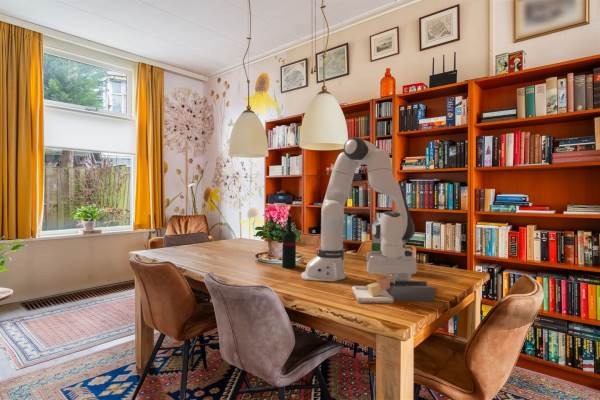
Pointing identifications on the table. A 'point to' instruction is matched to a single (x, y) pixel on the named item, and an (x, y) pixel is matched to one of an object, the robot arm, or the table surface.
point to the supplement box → (403, 277)
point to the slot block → (411, 291)
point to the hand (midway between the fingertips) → (391, 284)
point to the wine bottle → (289, 246)
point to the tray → (365, 297)
